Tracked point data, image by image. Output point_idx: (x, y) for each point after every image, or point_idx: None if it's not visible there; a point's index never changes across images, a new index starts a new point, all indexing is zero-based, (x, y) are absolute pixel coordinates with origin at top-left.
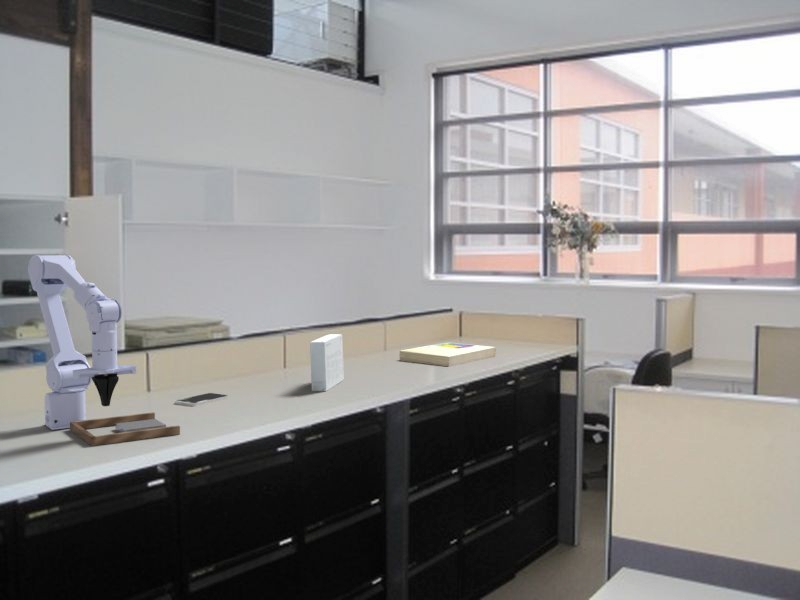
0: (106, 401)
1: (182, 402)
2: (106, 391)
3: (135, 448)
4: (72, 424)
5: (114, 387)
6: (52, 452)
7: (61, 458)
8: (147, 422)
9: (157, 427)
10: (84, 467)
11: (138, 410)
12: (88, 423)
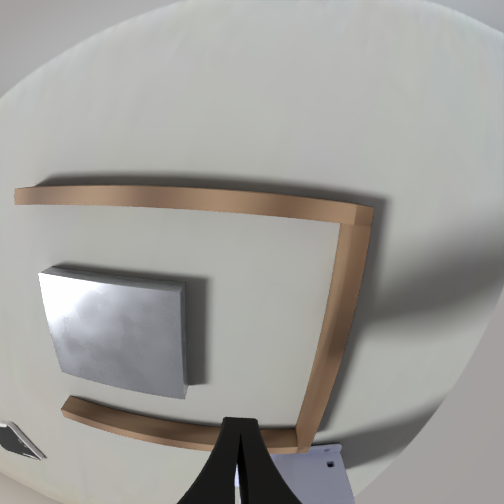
0: (245, 434)
1: (29, 445)
2: (248, 485)
3: (235, 62)
4: (314, 435)
5: (183, 498)
6: (462, 210)
7: (463, 124)
8: (83, 348)
9: (65, 274)
10: (428, 9)
11: (104, 472)
12: None
